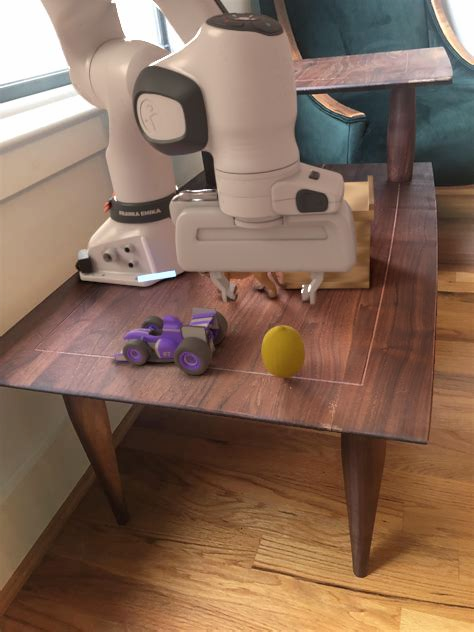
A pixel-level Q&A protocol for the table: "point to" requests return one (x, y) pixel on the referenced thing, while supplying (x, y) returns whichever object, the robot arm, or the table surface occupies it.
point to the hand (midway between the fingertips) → (269, 301)
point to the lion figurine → (260, 276)
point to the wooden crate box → (363, 213)
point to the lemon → (283, 351)
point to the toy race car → (176, 340)
